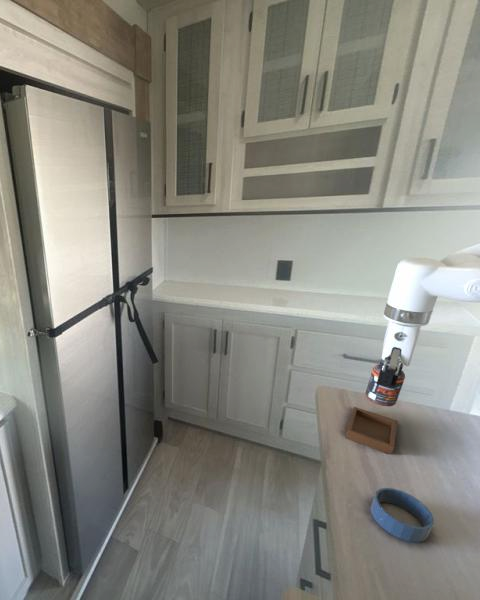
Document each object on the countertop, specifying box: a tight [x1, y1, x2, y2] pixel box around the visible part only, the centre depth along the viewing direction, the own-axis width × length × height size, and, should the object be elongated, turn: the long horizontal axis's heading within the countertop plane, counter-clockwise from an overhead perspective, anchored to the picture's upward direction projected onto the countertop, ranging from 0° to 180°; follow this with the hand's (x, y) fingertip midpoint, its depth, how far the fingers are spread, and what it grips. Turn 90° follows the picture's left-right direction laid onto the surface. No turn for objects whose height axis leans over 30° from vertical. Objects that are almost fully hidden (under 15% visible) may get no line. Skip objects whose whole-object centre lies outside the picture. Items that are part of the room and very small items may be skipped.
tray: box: [344, 406, 398, 455], centre depth 87 cm, size 12×9×2 cm
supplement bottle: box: [364, 358, 406, 407], centre depth 81 cm, size 6×6×11 cm
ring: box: [369, 487, 435, 544], centre depth 66 cm, size 8×8×5 cm
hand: (386, 378), depth 81 cm, fingers closed on supplement bottle, 6 cm apart
